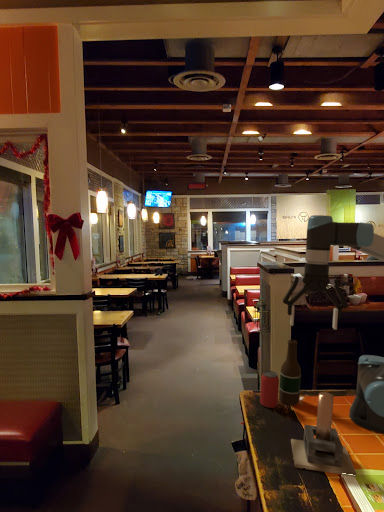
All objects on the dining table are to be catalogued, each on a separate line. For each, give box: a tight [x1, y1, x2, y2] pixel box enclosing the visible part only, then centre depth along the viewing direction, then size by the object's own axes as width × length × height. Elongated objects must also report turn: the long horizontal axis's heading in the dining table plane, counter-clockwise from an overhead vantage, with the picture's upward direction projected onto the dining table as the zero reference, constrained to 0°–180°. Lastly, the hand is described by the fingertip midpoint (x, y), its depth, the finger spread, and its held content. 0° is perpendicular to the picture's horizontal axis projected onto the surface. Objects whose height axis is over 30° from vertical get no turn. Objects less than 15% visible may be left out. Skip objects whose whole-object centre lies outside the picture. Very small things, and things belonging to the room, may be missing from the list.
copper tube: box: [315, 391, 335, 455], centre depth 101 cm, size 4×4×18 cm
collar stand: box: [290, 424, 357, 476], centre depth 101 cm, size 16×12×7 cm
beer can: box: [259, 370, 280, 409], centre depth 132 cm, size 7×7×12 cm
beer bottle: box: [278, 339, 302, 406], centre depth 135 cm, size 8×8×24 cm
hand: (312, 326), depth 115 cm, fingers open, 13 cm apart
